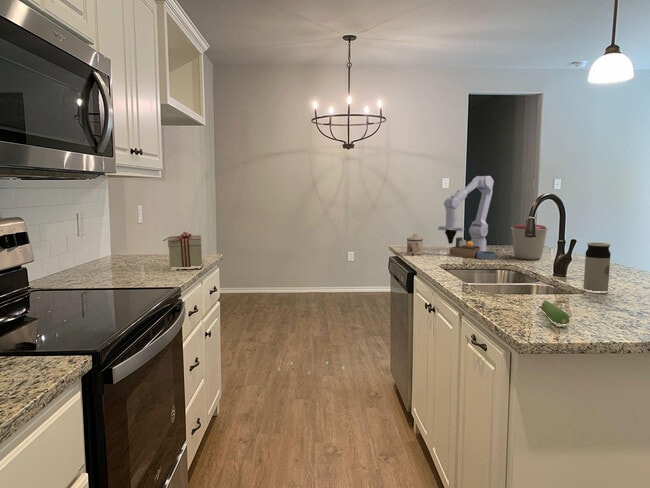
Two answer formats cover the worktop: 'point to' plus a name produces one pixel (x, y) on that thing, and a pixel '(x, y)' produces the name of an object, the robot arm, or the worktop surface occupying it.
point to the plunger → (460, 242)
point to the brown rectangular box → (464, 251)
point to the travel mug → (597, 267)
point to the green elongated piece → (555, 313)
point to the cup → (486, 255)
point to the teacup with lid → (414, 245)
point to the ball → (469, 244)
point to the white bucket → (528, 242)
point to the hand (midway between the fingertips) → (450, 243)
